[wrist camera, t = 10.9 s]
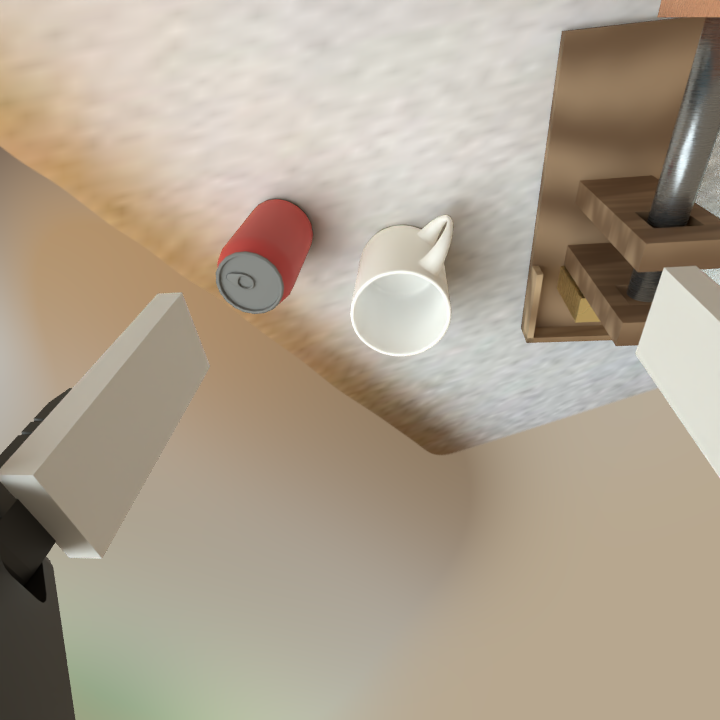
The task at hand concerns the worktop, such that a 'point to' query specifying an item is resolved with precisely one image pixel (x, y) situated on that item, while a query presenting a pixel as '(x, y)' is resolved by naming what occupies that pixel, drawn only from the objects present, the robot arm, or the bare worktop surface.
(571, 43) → the wooden stand
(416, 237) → the mug
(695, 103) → the mallet
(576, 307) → the spacer
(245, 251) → the beer can
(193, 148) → the worktop surface
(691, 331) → the robot arm
